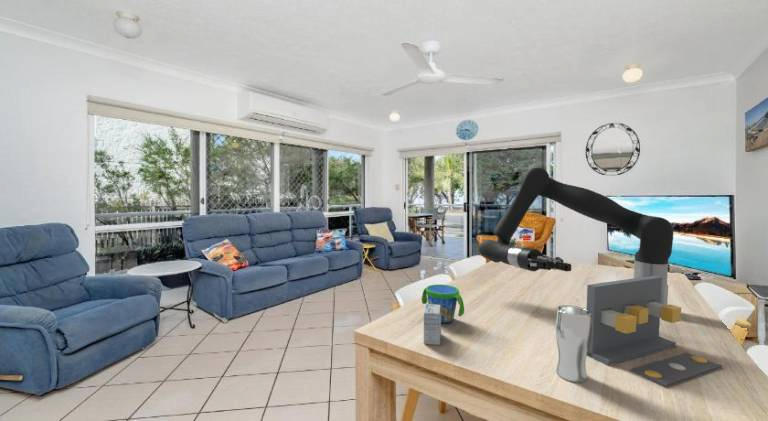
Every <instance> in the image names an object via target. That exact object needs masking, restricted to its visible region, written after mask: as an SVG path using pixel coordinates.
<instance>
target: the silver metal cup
mask: <svg viewBox="0 0 768 421" xmlns="http://www.w3.org/2000/svg"><path fill="white" fill-rule="evenodd" d="M556 309H557V310H556V316H555V317H556V318H555V337H556V343H557V350H558V362H557V366H556V371H555V372H556V374H557V375H558V377H560V378H561V379H563V380H565V381H568V382H572V383H577V384H578V383H579V384H580V383H585V382H587V380H588V374H587V367H586V366H587V365H586V364H587V363H586V361H587V357H588V356H587V353H588V349H589V345H590V340H591V312H590V311H589V310H587V308H585V307H581V306H577V305H571V304H570V305H568V304H565V305H564V304H563V305H558V306H557V308H556Z"/></svg>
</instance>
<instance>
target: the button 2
mask: <svg viewBox="0 0 768 421" xmlns="http://www.w3.org/2000/svg"><path fill="white" fill-rule="evenodd" d="M646 308H648V314H649V315H653V316H656V317H659V318H660V321H664V322H668V323H670V324H674V323H678V322H681V321H682V318H681V317H682V306H677V305H673V304H667V305H665V304H661V303H658V302H654V301H647V302H646Z"/></svg>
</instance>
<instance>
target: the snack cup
mask: <svg viewBox="0 0 768 421" xmlns="http://www.w3.org/2000/svg"><path fill="white" fill-rule="evenodd" d="M422 291H423V292H422V295H421V303H422V304H423V305H425V304H436V305H441V324H449V323H452V322H453V320H454V318H455V313H456V309H457V308H456V307H457V303H458V305H459V310H458V313H457V314H458V315H457V316H458V317H462V316H463V315H464V313H465V305H464V304H465V303H464V300H463V298H462V296H461V294H460V290H459V288H458V287H456V286H453V285H449V284H430V285H428V286H426V287H425V288H424V289H423V290H422Z"/></svg>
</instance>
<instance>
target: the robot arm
mask: <svg viewBox="0 0 768 421" xmlns="http://www.w3.org/2000/svg"><path fill="white" fill-rule="evenodd" d="M539 196H541V197H543V198H547V199H549V200H552V201H554V202H556V203H558V204H560V205H562V206H563V207H565V208H566V209H569V210H571V211H573V212H576V213H578V214H581V215H583V216H584V217H587V218H589V219H593V220H595V221H597V222H600V223H601V222H602V223H604V224H608V225H612V226H614V227H615V228H616V227H617V228H619V229H621V230H623V231H625V232H627V233H629V234H631V235H632V236H634V237H635V238H637V239H639V248H638V251H635V254H634V264H633V265H634V267H633V268H634V269H633V278H640V277H648V276H658V277H662V288H661V304H665V305H668V298H669V284H668V272H669V259H670V258H671V255H672V253H673V252H672V251H673V243H674V227H673V225H672V223H671V222H670V221H669V220H668V219H666V218H663V217H660V216H652V215H648V214H643V213H640V212H636V211H635V210H631V209H629V208H626V207H624V206H622V205H621V204H619V203H617V202H616V201H615V200H613V199H611V198H610V197H608V196H605V195H603V194H601V193H599V192H597V191H594V190H591V189H589V188H584V187H581V186H576V185H572V184H567V183H563V182H561V181H558V180H555V179H554V178H551V177H550V175H549V173H548V171H547V170H546V169H544V168H543V167H542V168H541V167H537V166H536V167H531V168H530V169H528V170H526V172H524V174H522V176H521V179H520V187H519V190H518V192H517V194H516V196H515V198H514V199H513V201H512V202H511V204H510V205H509V206H508V208H507V209H506V210H505V212H504V213H503V214H502V216H501V217H500V219H499V221H498V223H497V225H495V227H494V229H493V235H494V236H495V237H497V240H493V239H485V240H483V241H480V244H479V245H478V252H479V254H480V255H481V257H483V258H485V259H487V260H489V261H491V262H493V263H496V264H497V263H500V262H501V263H503V264H506V265H509V266H514V267H515V268H518V269H521V270H525V271H529V272H537V271H539V270H546V271H547V270H548V271H552V270H554V271H557V270H559V271H562V272H571V271H572V264H571V263H568V262H564V259H562V258H561V257H560V256H555V257H552V256H549V255H545V254H543V253H542V252H541V251H540V249H537V248H533V247H532V248H531V247H526V246H522V245H521V246H516V245H511V244H510V243H511V240H512V237H513V236H514V235H515V234H516V231H517V229H518V228H519V226H520V225H521V223H522V221H523V220H524V217H525V216H526V214H527V212H528V210H529V209H530V207H531V206H532V204H533V203H534V202H535V201H536V199H537V198H538V197H539Z"/></svg>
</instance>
